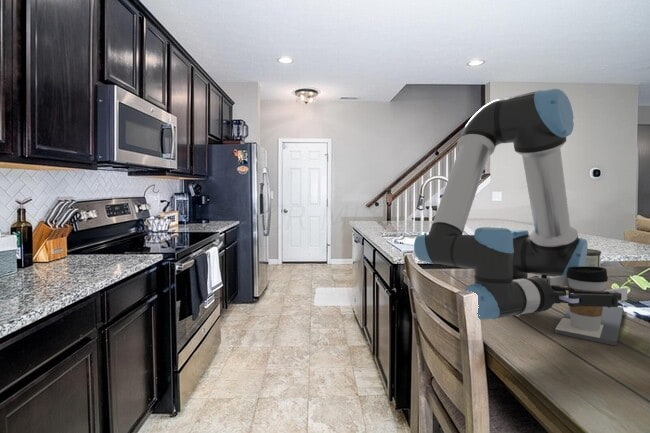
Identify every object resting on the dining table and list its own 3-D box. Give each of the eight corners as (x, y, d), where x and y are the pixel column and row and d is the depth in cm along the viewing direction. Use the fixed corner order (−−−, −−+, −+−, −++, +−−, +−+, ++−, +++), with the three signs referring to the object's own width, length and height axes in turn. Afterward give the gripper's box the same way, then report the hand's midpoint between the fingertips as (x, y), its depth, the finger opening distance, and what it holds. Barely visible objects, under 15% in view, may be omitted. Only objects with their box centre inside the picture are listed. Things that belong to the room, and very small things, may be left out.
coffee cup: (610, 335, 85) (612, 272, 84) (568, 330, 89) (569, 270, 88) (601, 323, 93) (603, 265, 92) (562, 318, 97) (563, 263, 96)
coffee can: (559, 285, 137) (560, 248, 136) (588, 285, 136) (589, 248, 135) (575, 292, 127) (576, 252, 126) (607, 292, 126) (608, 252, 125)
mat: (616, 345, 83) (616, 340, 82) (554, 333, 91) (555, 328, 90) (623, 310, 106) (623, 306, 106) (574, 303, 114) (574, 299, 114)
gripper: (486, 297, 93) (548, 289, 100) (582, 331, 70) (654, 317, 76) (486, 268, 93) (548, 262, 100) (583, 293, 69) (655, 282, 76)
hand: (594, 286), depth 88 cm, fingers open, 13 cm apart
